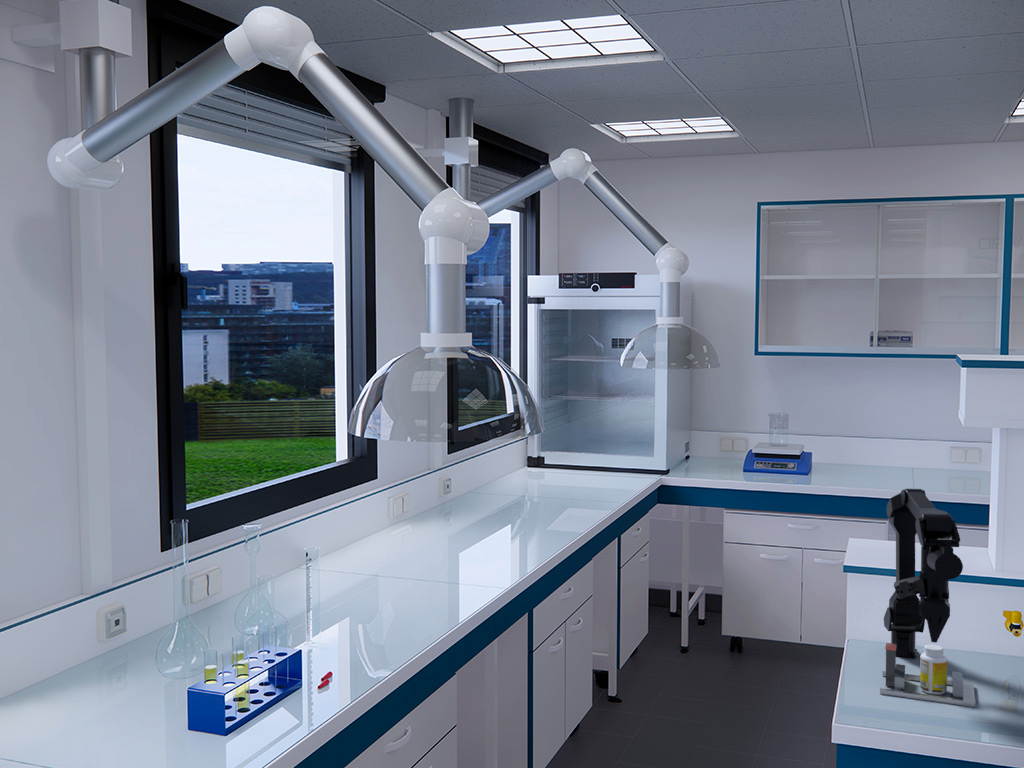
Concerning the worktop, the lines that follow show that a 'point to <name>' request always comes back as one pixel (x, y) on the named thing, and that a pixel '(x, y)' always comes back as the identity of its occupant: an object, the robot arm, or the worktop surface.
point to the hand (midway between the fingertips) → (934, 636)
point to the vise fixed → (960, 691)
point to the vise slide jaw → (894, 669)
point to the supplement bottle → (933, 670)
